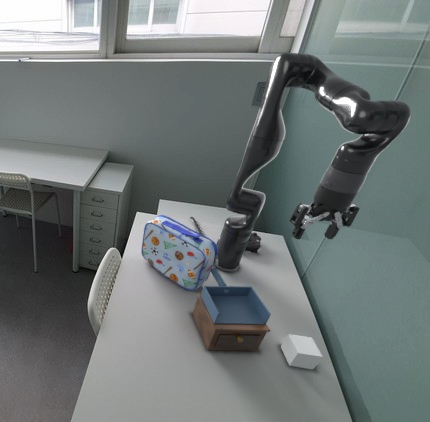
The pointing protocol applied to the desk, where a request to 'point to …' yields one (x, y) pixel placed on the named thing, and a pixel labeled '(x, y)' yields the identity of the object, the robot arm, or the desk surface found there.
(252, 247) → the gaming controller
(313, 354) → the white cube
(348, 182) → the robot arm
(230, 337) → the storage box
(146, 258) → the lunch box
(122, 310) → the desk surface
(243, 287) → the dustpan
